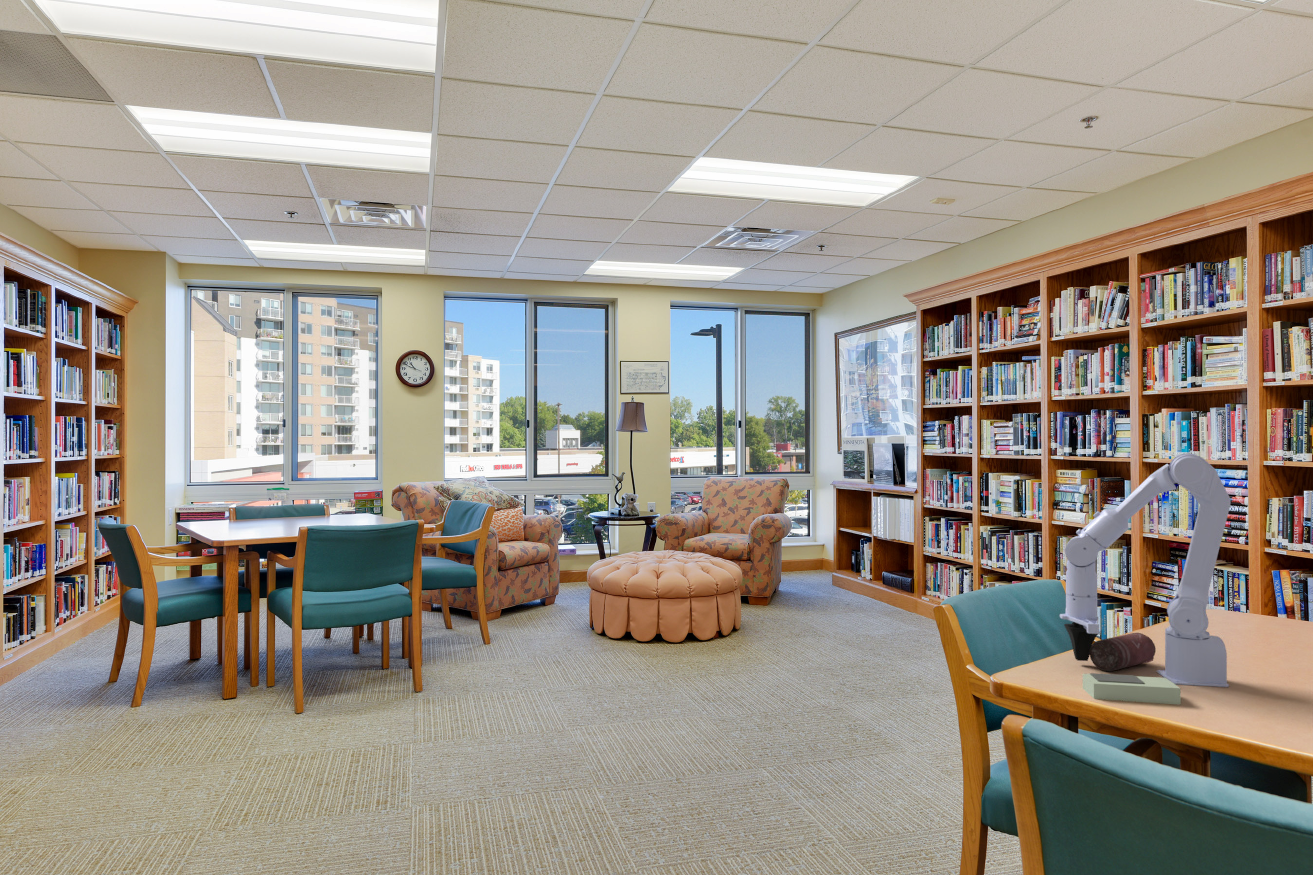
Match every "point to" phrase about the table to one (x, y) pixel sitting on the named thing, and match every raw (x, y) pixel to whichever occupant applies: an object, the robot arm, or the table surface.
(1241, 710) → the table surface
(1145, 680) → the pale green slab
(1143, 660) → the can
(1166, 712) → the table surface
